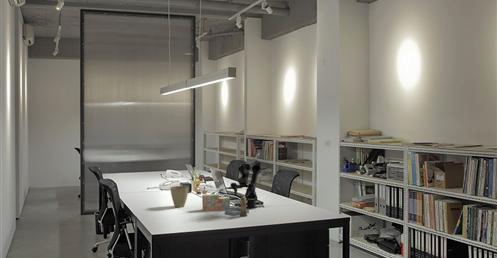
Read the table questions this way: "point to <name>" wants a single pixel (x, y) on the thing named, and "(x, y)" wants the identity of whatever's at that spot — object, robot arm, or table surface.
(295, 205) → the table surface
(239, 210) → the tray
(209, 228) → the table surface
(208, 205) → the colourful rectangular box
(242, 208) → the scraper handle
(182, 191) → the plant pot
